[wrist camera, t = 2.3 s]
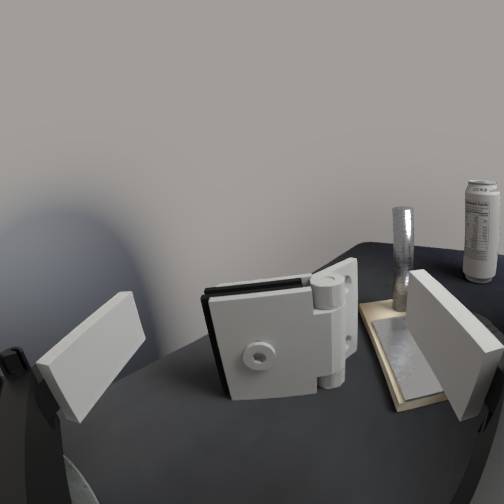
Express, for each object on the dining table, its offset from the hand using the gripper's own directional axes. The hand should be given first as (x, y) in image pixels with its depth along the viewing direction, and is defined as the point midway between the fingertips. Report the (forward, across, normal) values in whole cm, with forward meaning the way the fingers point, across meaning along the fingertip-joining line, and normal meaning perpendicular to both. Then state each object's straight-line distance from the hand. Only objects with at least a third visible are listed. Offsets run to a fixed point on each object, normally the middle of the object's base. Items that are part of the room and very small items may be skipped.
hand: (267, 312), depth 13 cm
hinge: (+11, +1, -13) cm, 17 cm away
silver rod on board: (+12, +14, -11) cm, 22 cm away
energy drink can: (+27, +31, -12) cm, 42 cm away
